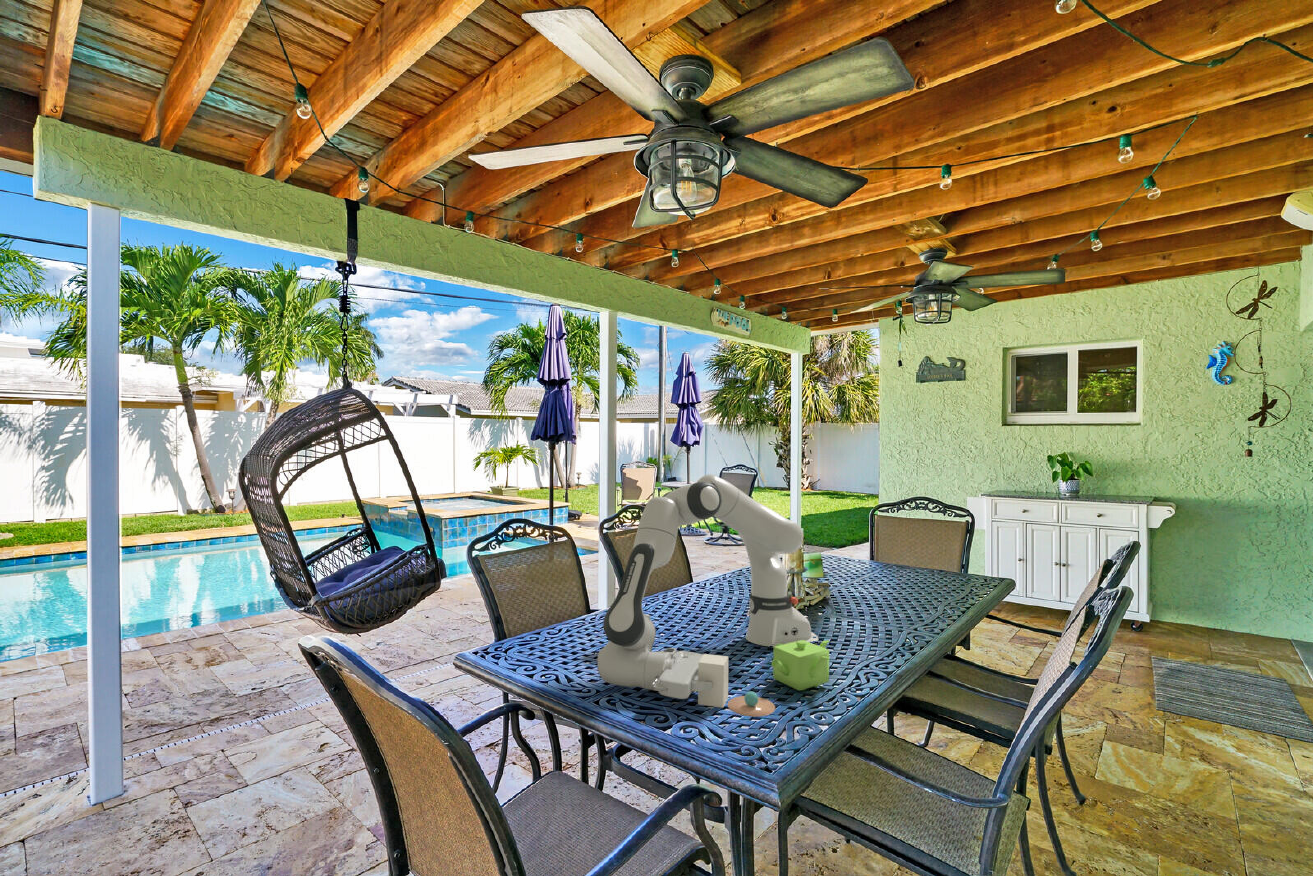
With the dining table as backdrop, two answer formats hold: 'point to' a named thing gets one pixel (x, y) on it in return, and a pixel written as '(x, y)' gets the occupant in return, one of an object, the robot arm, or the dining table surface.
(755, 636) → the robot arm
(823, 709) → the dining table surface
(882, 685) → the dining table surface
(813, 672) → the kettle
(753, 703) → the ball
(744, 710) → the coaster
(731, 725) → the dining table surface
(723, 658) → the tall cream pillar
